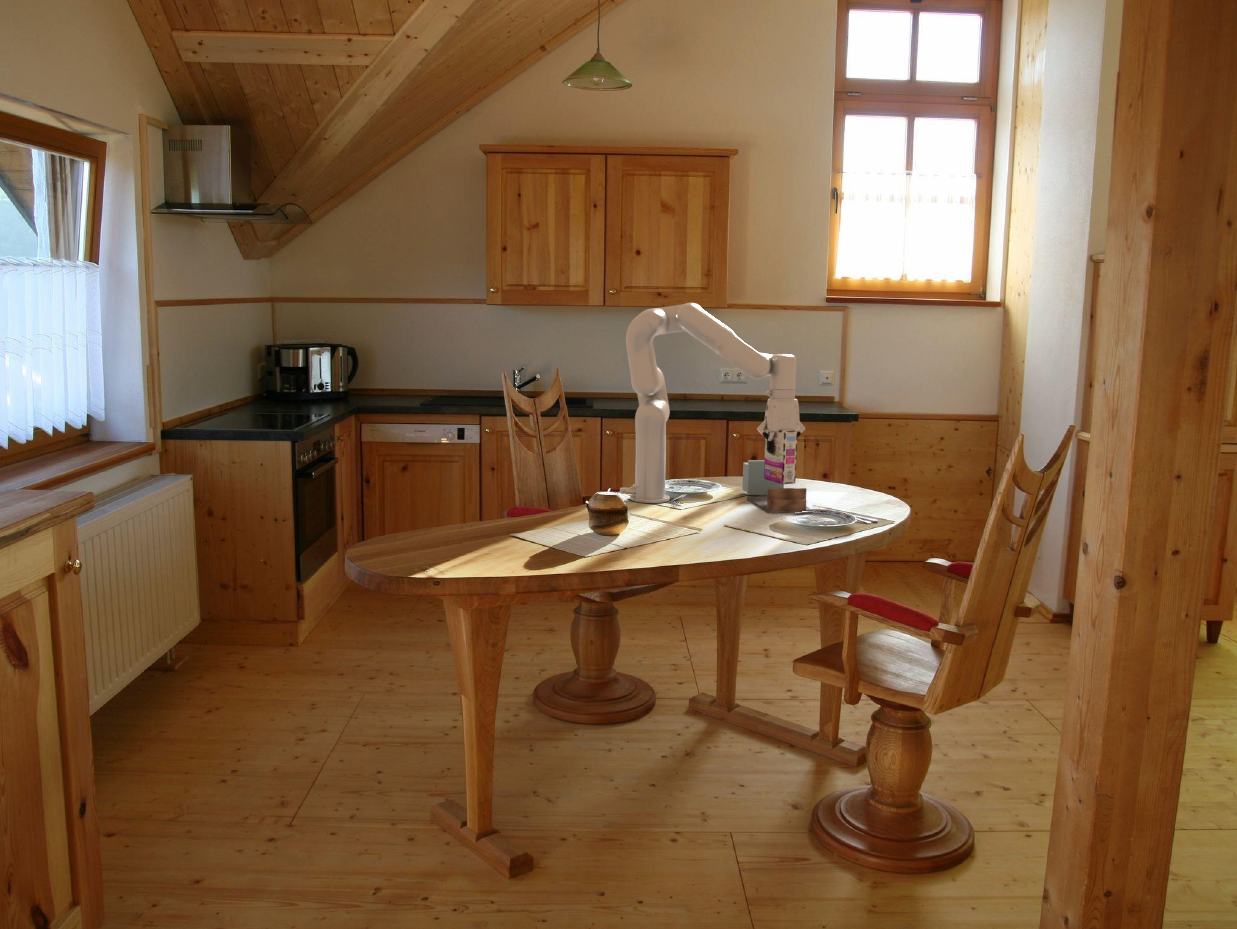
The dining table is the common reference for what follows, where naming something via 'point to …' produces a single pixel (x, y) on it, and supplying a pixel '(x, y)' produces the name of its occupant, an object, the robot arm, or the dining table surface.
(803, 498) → the book rack
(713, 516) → the dining table surface
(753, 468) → the block
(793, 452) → the candy bar box
